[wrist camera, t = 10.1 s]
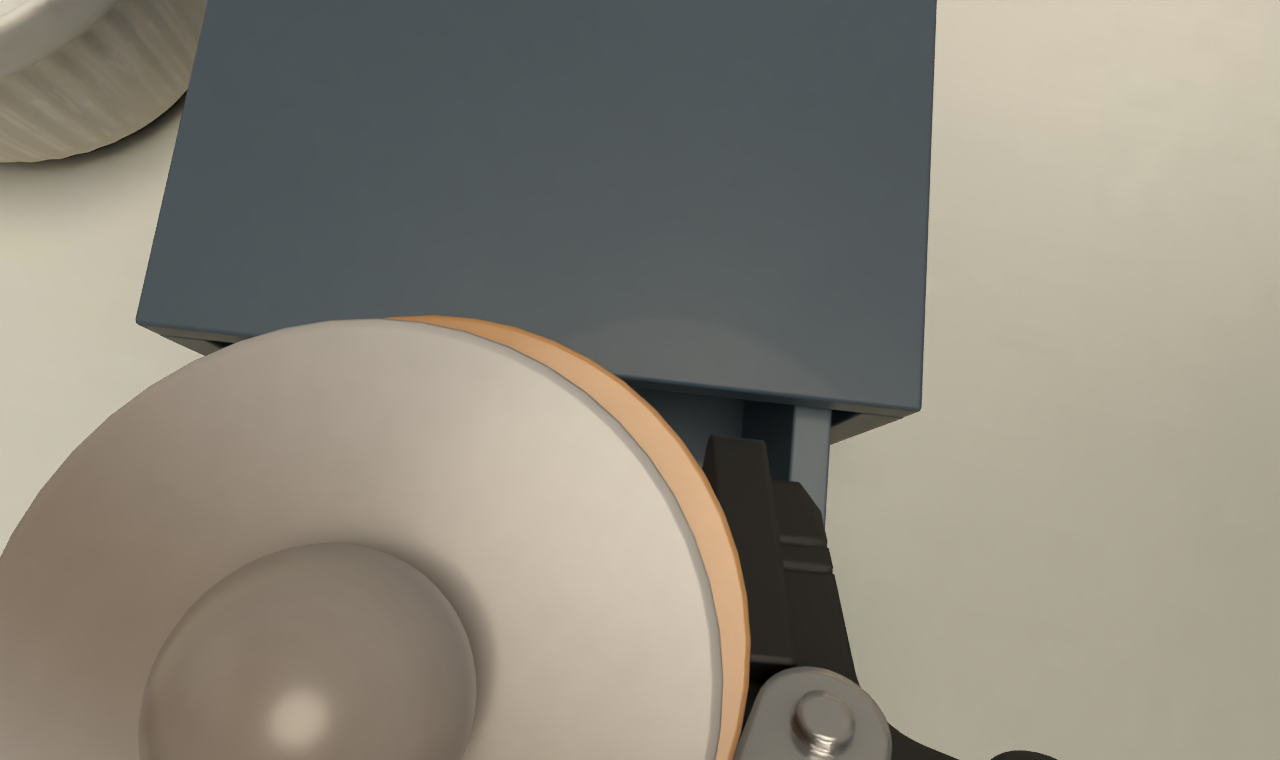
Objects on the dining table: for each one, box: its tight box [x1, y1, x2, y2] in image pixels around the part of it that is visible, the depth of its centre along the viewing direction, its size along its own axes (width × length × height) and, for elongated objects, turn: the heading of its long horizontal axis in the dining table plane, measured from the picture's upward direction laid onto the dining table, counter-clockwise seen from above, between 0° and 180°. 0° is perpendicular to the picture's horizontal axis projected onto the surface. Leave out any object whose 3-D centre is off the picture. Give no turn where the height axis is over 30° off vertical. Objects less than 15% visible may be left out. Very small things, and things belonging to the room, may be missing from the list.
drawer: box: [631, 387, 832, 528], centre depth 19 cm, size 18×14×7 cm
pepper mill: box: [0, 315, 751, 760], centre depth 10 cm, size 5×5×13 cm
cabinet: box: [136, 0, 937, 445], centre depth 21 cm, size 15×15×9 cm
